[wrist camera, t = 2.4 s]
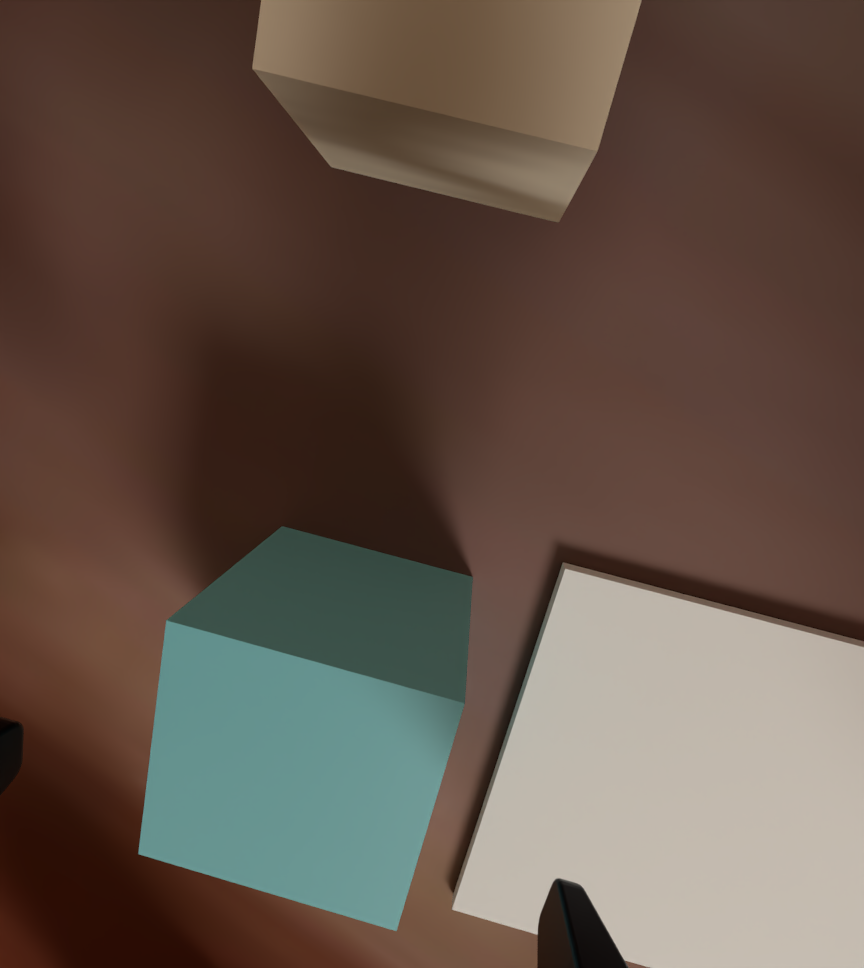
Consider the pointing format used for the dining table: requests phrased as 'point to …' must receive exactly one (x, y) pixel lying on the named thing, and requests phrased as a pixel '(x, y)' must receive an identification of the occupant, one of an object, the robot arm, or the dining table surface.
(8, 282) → the dining table surface
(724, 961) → the white mat
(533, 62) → the birch block
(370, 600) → the teal block
